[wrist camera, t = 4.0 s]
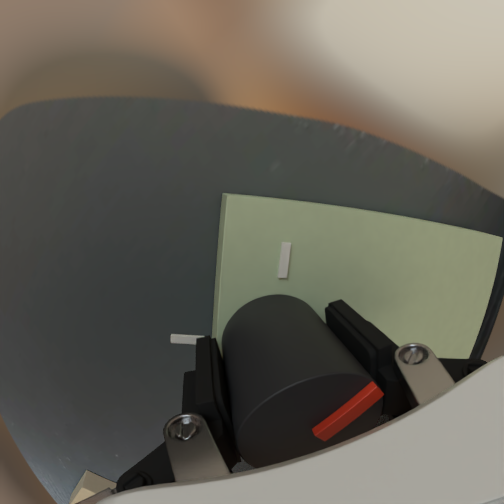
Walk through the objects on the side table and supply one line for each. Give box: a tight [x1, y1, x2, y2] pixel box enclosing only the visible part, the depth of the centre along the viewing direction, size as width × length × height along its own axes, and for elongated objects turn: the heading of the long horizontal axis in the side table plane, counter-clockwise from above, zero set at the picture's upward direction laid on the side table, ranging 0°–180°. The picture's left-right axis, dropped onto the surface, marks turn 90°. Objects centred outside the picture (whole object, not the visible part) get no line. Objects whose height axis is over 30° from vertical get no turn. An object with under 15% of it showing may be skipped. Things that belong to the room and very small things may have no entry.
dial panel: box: [171, 193, 503, 359], centre depth 14 cm, size 20×10×3 cm, turn 84°
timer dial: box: [221, 294, 384, 468], centre depth 9 cm, size 4×4×6 cm
